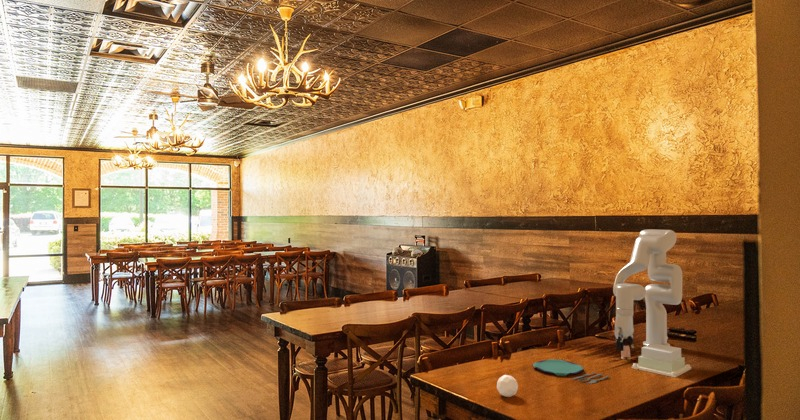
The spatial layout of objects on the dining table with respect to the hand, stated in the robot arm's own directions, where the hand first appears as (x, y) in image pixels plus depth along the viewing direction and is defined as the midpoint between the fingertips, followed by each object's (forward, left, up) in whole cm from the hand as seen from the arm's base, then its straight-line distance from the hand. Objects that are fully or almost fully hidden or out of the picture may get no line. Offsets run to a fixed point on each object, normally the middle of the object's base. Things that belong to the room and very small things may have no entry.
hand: (624, 348), depth 244 cm
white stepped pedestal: (+4, +18, -5) cm, 19 cm away
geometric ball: (+83, -6, -5) cm, 83 cm away
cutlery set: (+40, -6, -5) cm, 41 cm away
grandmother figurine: (0, 0, -5) cm, 5 cm away
